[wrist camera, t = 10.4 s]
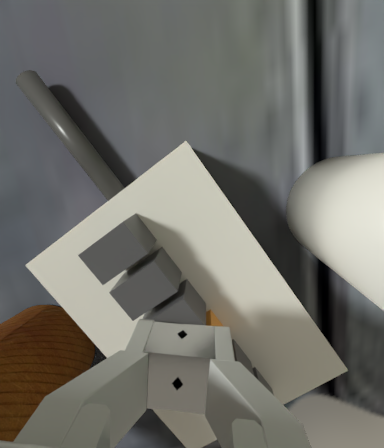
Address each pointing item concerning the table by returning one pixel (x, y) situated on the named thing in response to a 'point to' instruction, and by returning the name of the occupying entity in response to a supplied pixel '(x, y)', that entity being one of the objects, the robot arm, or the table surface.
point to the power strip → (208, 269)
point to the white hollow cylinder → (343, 218)
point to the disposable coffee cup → (37, 362)
